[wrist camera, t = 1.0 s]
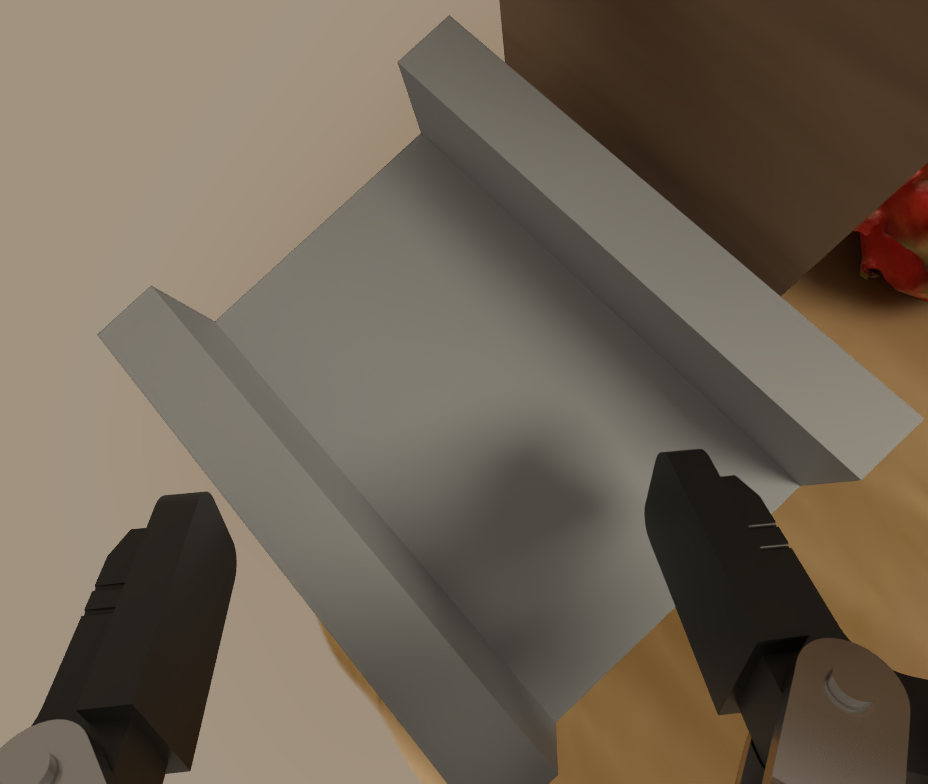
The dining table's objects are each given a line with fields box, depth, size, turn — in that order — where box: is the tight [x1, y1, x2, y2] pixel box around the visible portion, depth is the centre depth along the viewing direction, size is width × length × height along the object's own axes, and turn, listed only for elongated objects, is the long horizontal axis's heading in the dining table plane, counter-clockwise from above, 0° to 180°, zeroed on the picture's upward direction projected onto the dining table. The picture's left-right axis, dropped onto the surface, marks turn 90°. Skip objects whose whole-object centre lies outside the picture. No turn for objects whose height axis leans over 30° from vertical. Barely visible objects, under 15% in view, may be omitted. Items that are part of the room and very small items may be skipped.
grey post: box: [98, 15, 924, 784], centre depth 23 cm, size 10×12×24 cm
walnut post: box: [500, 0, 928, 296], centre depth 21 cm, size 10×11×30 cm
